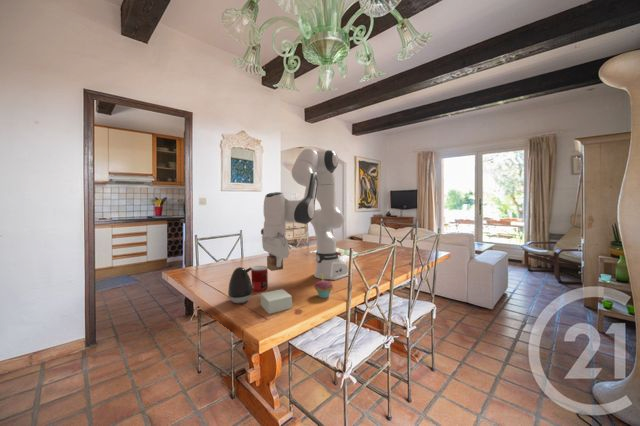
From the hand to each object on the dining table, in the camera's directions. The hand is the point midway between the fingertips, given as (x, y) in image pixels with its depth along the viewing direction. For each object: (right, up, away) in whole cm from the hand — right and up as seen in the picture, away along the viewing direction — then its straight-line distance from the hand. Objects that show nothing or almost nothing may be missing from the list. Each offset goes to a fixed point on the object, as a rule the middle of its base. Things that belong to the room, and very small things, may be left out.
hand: (275, 264), depth 105 cm
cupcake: (+20, -17, +12) cm, 29 cm away
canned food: (-12, -17, +22) cm, 30 cm away
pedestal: (0, -18, +1) cm, 18 cm away
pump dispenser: (-17, -18, +7) cm, 25 cm away
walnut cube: (0, -2, 0) cm, 2 cm away
